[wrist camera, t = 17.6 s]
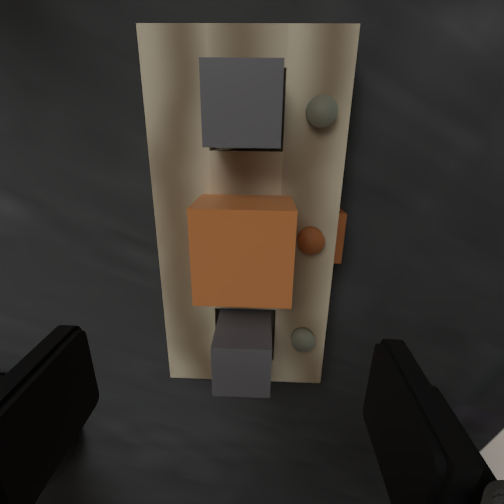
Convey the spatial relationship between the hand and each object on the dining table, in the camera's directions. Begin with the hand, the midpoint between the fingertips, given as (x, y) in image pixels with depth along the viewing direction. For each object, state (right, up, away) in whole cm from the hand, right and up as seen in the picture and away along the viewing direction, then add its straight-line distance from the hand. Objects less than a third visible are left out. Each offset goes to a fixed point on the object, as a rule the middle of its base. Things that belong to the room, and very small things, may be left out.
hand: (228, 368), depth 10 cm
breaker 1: (0, +14, +12) cm, 18 cm away
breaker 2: (0, -3, +18) cm, 18 cm away
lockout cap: (0, +5, +14) cm, 15 cm away
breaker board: (0, +6, +18) cm, 19 cm away
